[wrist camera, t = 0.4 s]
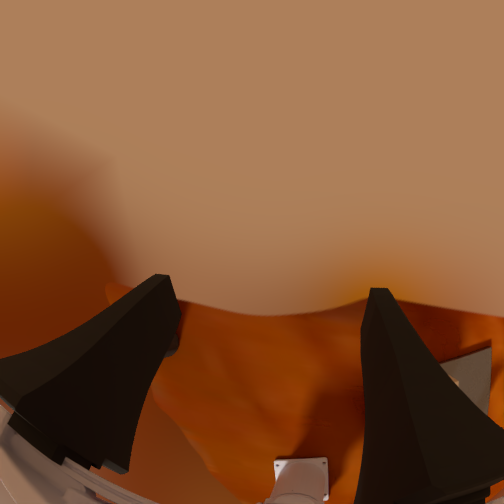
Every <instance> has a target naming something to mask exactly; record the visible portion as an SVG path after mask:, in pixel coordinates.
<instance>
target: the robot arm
mask: <svg viewBox="0 0 504 504" xmlns="http://www.w3.org/2000/svg"><path fill="white" fill-rule="evenodd" d="M181 315H182V314H181V311H180V308H179V305H178V302H177V299H176V296H175V292H174V289H173V286H172V283H171V280H170V276H169V275H162V274H155V275H153V276H151V277H150V278H148V279H147V280H146V281H144V282H142V283H141V284H140V285H138V286H137V287H135V288H134V289H133V290H131V291H130V292H129V293H127V294H126V295H124V296H123V297H122V298H120V299H119V300H118V301H116V302H115V303H113V304H112V305H111V306H109V307H108V308H106V309H105V310H103V311H102V312H100V313H99V314H98V315H96V316H95V317H93V318H92V319H90V320H89V321H87V322H86V323H84V324H82V325H81V326H79V327H77V328H75V329H74V330H72V331H70V332H68V333H67V334H65V335H63V336H61V337H59V338H57V339H55V340H52V341H50V342H48V343H46V344H44V345H41V346H39V347H37V348H34V349H31V350H29V351H26V352H23V353H20V354H16V355H13V356H9V357H6V358H2V359H0V398H1V399H2V400H3V401H4V402H5V403H6V404H7V405H8V406H9V407H11V408H12V409H13V410H14V413H13V414H10V413H9V412H8V411H7V410H6V409H5V408H4V407H3V406H2V405H1V404H0V480H1V482H2V483H3V485H4V486H5V488H6V489H7V491H8V492H9V494H10V495H11V497H12V498H13V500H14V501H15V502H16V504H112V503H109V502H107V501H104V500H102V499H100V498H97V497H96V493H98V494H100V495H102V496H103V497H105V498H107V499H109V500H111V501H113V502H114V503H116V504H159V503H156V502H154V501H151V500H148V499H146V498H144V497H141V496H139V495H137V494H134V493H132V492H130V491H128V490H126V489H123V488H121V487H119V486H117V485H115V484H113V483H111V482H109V481H107V480H105V479H103V478H102V477H100V476H98V475H96V474H94V473H93V472H91V471H89V469H90V467H91V465H92V466H93V467H95V468H97V469H100V468H101V466H104V467H106V468H108V469H110V470H112V471H114V472H117V473H119V474H125V473H127V472H128V471H129V463H130V456H131V451H132V445H133V441H134V436H135V432H136V428H137V424H138V420H139V417H140V413H141V410H142V407H143V404H144V401H145V398H146V395H147V392H148V389H149V387H150V385H151V382H152V380H153V378H154V376H155V374H156V372H157V370H158V368H159V366H160V364H161V362H162V360H163V358H164V356H165V354H166V352H167V350H168V348H169V346H170V344H171V342H172V340H173V338H174V335H175V333H176V330H177V327H178V324H179V321H180V318H181ZM361 364H362V374H363V385H364V397H365V434H364V445H363V454H362V462H361V469H360V475H359V481H358V487H357V491H356V496H355V500H354V504H504V496H503V497H500V498H498V499H496V500H494V501H491V502H489V503H485V498H486V497H488V496H489V495H490V486H492V485H494V484H496V483H498V482H500V481H502V480H504V429H502V428H501V427H500V426H499V425H497V424H496V423H495V422H494V421H493V420H492V419H490V418H489V417H488V416H487V415H486V414H485V413H484V412H483V411H482V410H480V409H479V408H478V407H477V406H476V405H475V404H474V403H473V402H472V401H471V400H470V398H469V397H468V396H467V395H466V394H465V393H464V392H463V391H462V390H461V389H460V388H459V387H458V386H457V385H456V384H455V382H454V381H453V380H452V379H451V378H450V377H449V375H448V374H447V373H446V372H445V370H444V369H443V368H442V367H441V366H440V364H439V363H438V362H437V360H436V359H435V358H434V356H433V355H432V354H431V352H430V351H429V349H428V348H427V347H426V345H425V344H424V342H423V341H422V340H421V338H420V337H419V335H418V334H417V332H416V331H415V329H414V328H413V326H412V325H411V323H410V322H409V320H408V319H407V317H406V316H405V314H404V312H403V311H402V309H401V308H400V306H399V305H398V303H397V301H396V300H395V298H394V297H393V295H392V294H391V292H390V291H389V289H388V288H371V289H370V293H369V297H368V302H367V306H366V310H365V314H364V318H363V322H362V326H361ZM323 462H326V463H323ZM276 464H278V465H276ZM274 468H275V476H276V483H275V486H274V489H273V491H272V494H271V496H270V498H266V500H265V502H264V504H324V502H323V501H325V500H328V498H329V494H328V459H327V458H326V457H320V458H306V459H277V460H275V461H274ZM95 492H96V493H95ZM256 504H263V503H256Z"/></svg>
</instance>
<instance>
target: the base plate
mask: <svg viewBox="0 0 504 504" xmlns="http://www.w3.org/2000/svg"><path fill="white" fill-rule="evenodd" d="M439 364H440V366H441V367H442V368H443V369H444V370H445V372H446V373H447V374H448V375H450V376H451V377H453V378H455V379H456V380H458V381H459V388H460V389H461V390H462V391H463V392H464V393H465V394H466V395H467V396H468V397H469V398H470V400H471V401H472V402H473V403H474V404H475V405H476V406H477V407H478V408H479V409H480V410H482V411H483V412H484V413H485V414H486V415H487V414H488V405H489V396H490V383H491V347H489V346H488V347H485V348H482V349H480V350H477V351H474V352H471V353H468V354H465V355H462V356H459V357H456V358H452V359H449V360H446V361H442V362H439Z"/></svg>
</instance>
